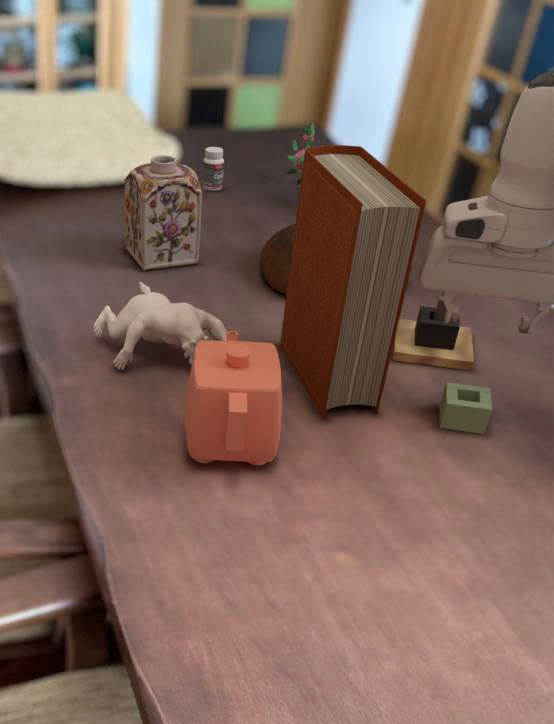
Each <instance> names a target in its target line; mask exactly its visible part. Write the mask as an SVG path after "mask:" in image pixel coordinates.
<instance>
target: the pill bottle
mask: <svg viewBox="0 0 554 724" xmlns="http://www.w3.org/2000/svg"><path fill="white" fill-rule="evenodd" d="M204 150H205V151H204V155H205V157H204V158H203V160H202V161H203V162H202V179H201V180H202V181H201V188H202V189H203V190H206V191H208V192H216V191H220V190H222V189H223V184H222V183H224V169H225V159H224V157H223V156H224V149H223V148H222V147H218V146H209V147H206V148H205V149H204ZM202 182H203V183H204V184H208V185H220V184H222V185H221V186H218V187H208V186H205V185H203V184H202Z"/></svg>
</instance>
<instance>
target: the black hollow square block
mask: <svg viewBox="0 0 554 724" xmlns="http://www.w3.org/2000/svg"><path fill="white" fill-rule="evenodd" d="M435 310H436V307H433V306H425V305H420V306H419V310H418V314H417V318H416V321H417V322H416V326H415V345H416V346H424V347H432V348H440V349H448V350H454V347H455V343H456V340H457V336H458V333H459V329H460V326H461V323H460V322H461V321H460V316H459V317H458V318H457V323H456V324H449V323H445V321H439V320H433V318H434V314H435Z"/></svg>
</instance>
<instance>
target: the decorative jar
mask: <svg viewBox="0 0 554 724" xmlns="http://www.w3.org/2000/svg"><path fill="white" fill-rule="evenodd" d="M201 188H202V187H201V183H200V182H199V179H198V175H197V173H196V171H195V170H193V169H192V167H190V166H188V165H185V164H182V163H178V162H177V158H176V157H175V156H172V155H167V154H159V155H155V156H152V157H151V158H150V162H149V163H143V164H140V165H138V166H136V167H134V168H133V169H131V170H130V171H129V172H128V174H127V175H126V176H125V178H124V241H125V242H124V243H125V249H126V251H127V252H128V253H129V254H130V255H131V257H132V258H133V259H134V261H135V262H136V263H137V264H138V266H139V267H140V268H141V270H142V271H143V272H144V271H150V270H158V269H167V268H175V267H182V266H190V265H196V264H198V263H199V258H200V244H201V231H202V228H201V227H202V225H201V224H202V201H203V200H202V197H203V196H202V195H203V191H202V189H201Z"/></svg>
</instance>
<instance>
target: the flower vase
mask: <svg viewBox="0 0 554 724" xmlns="http://www.w3.org/2000/svg"><path fill="white" fill-rule="evenodd" d="M315 130H316V129H315V123H314V122H311V124H310V126H309V128H308V127H303V126H302V131H303V134H302V137H301V138H300V140H301V142H302V143H301V144H302V145H304V146H305V148H302V149H301V150H300V149H299V146H298V143H297V141H296V139H295V138H293V139H292V142H291V146H292V150H293V151H294V152H296V153H295V154H294V155H287V156H286V158H287V159H288V160H289V161H290V162H292V163H293V166H295V167H291V168H289V169H287V170H286V171H285V172H284V175H291V174H297V172H298V173H300V174H302V169H303V161H304V153H305V149H306V148H311V145H312V147H315V145H314V143H315V134H316V131H315ZM320 146H324V145H323V144H322V145H320ZM298 149H299V150H298ZM300 184H301V177H299V178H298V179H297V180H296V186H300Z"/></svg>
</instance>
